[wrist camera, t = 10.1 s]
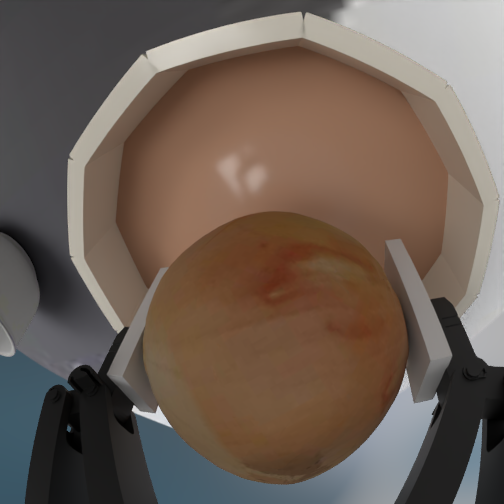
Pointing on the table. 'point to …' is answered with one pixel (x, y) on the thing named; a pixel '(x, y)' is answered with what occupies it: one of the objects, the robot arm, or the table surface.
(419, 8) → the table surface
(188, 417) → the onion
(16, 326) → the teacup
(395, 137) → the bowl
